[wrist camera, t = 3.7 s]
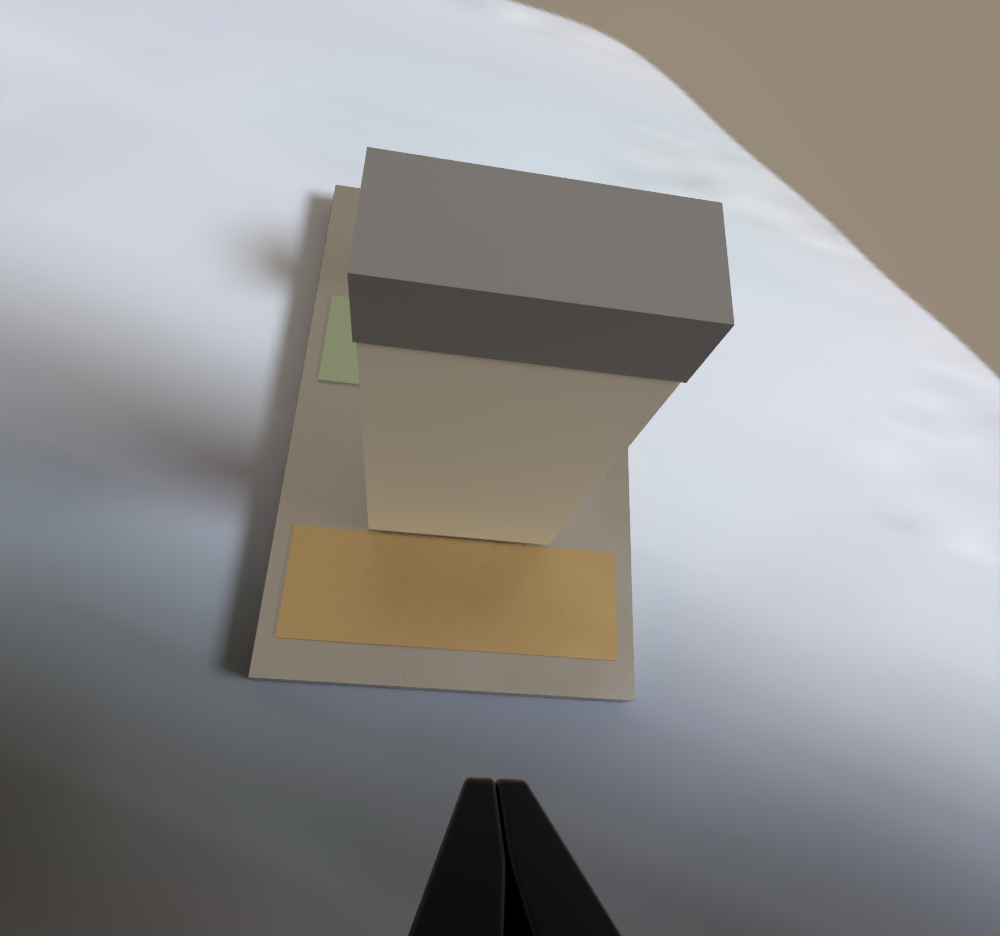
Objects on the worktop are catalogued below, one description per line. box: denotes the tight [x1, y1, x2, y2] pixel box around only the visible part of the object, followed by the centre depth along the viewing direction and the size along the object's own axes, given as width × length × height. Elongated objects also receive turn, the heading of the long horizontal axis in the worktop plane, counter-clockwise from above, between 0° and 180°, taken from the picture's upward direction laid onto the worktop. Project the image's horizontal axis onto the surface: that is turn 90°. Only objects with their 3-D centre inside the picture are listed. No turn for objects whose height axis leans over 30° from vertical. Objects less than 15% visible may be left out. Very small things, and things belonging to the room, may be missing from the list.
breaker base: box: [249, 185, 635, 702], centre depth 20 cm, size 16×10×4 cm, turn 177°
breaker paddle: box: [347, 147, 734, 545], centre depth 14 cm, size 2×5×11 cm, turn 87°
